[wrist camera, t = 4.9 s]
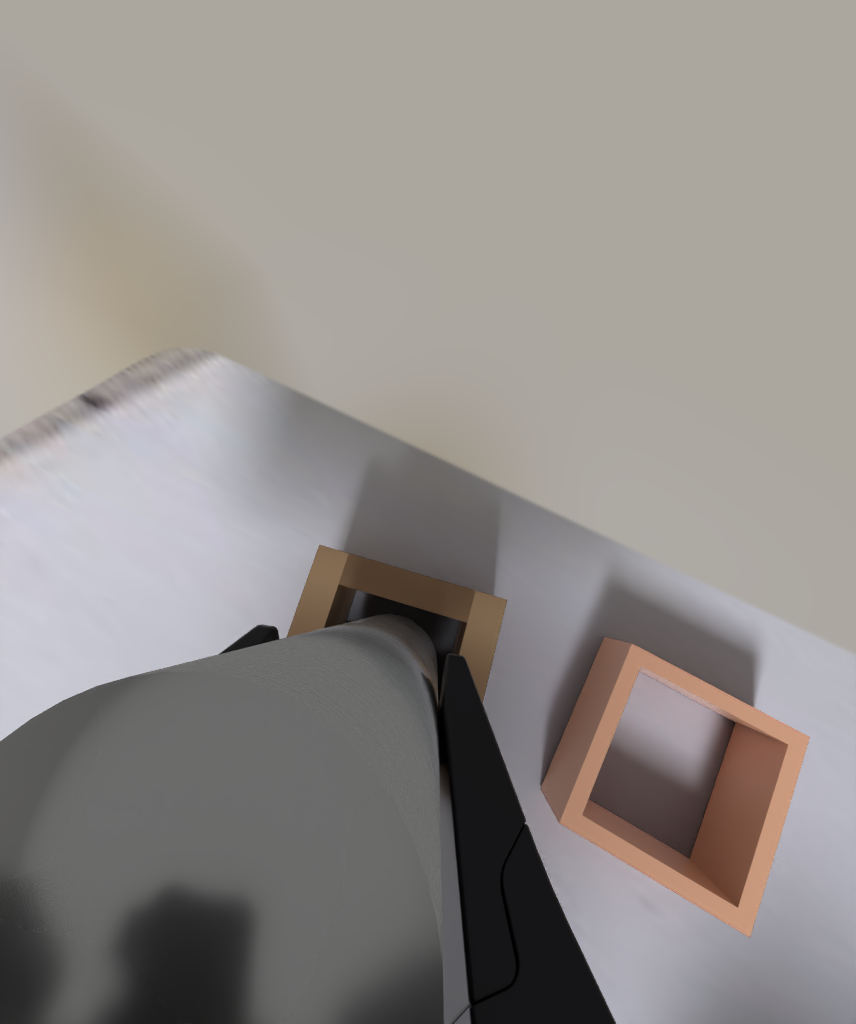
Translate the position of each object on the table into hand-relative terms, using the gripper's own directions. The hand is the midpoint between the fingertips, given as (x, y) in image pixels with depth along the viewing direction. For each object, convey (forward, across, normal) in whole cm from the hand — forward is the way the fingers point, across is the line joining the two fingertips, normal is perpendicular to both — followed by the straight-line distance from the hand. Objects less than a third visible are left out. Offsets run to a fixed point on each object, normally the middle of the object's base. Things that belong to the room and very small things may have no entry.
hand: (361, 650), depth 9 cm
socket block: (+4, -11, +8) cm, 15 cm away
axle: (+4, 0, +6) cm, 7 cm away
